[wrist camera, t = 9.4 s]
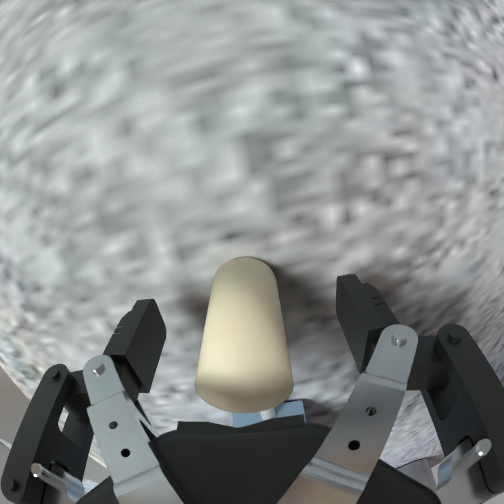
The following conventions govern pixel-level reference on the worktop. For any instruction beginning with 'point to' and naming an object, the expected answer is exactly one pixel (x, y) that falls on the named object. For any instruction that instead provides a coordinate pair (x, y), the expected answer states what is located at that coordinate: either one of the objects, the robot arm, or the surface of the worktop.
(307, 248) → the worktop surface
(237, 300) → the tethered block
